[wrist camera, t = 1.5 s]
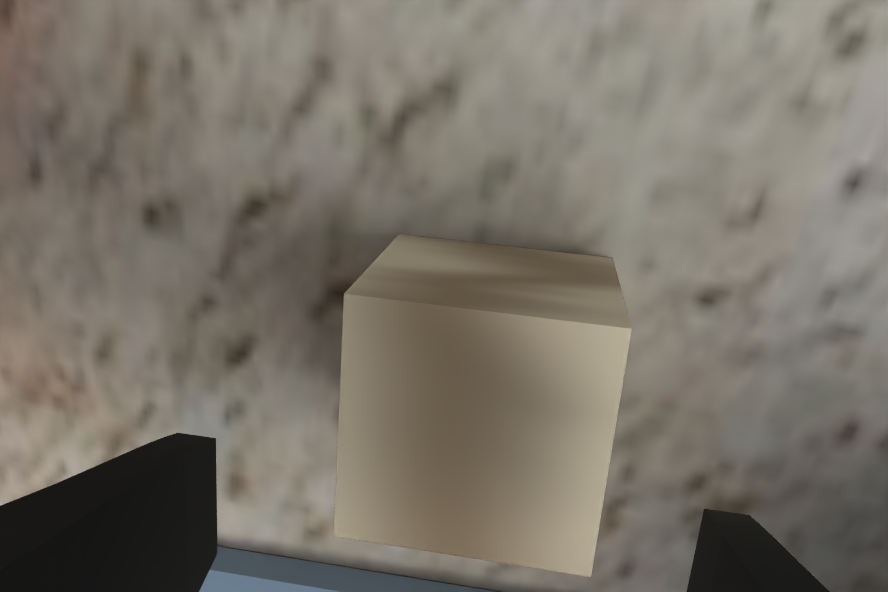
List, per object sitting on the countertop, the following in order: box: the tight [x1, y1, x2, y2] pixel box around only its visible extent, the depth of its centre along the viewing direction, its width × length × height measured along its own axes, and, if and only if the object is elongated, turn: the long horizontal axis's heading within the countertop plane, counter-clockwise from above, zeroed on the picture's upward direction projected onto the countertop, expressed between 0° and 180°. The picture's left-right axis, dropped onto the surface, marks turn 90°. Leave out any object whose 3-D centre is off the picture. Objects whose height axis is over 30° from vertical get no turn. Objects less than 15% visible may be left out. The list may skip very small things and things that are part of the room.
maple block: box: [334, 234, 632, 577], centre depth 16 cm, size 5×5×5 cm
